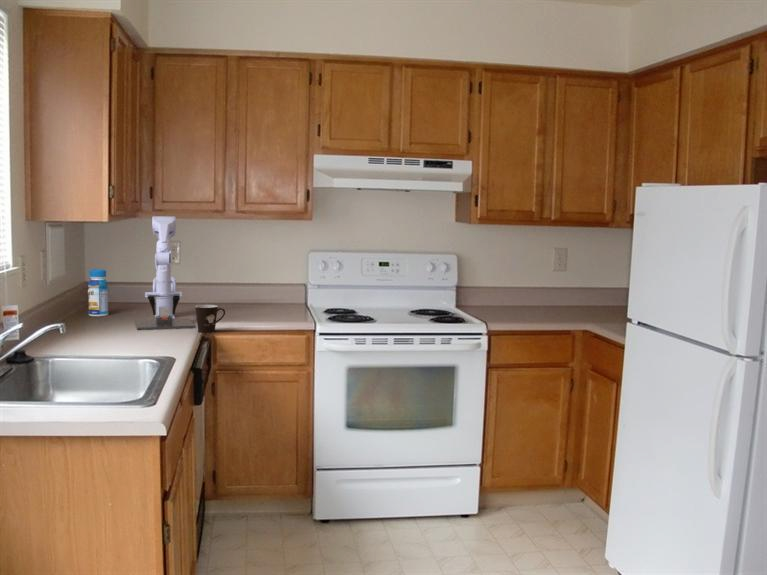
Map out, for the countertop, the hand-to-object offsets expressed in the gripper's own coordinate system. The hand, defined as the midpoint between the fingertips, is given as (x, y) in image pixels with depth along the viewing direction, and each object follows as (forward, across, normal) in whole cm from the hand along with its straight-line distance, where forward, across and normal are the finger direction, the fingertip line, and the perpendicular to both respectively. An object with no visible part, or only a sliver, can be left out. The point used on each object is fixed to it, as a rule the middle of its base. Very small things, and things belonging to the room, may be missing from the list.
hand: (163, 314), depth 306 cm
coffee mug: (+4, +16, -20) cm, 26 cm away
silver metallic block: (+3, 0, 0) cm, 3 cm away
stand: (+4, 0, 0) cm, 4 cm away
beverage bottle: (+4, -25, +33) cm, 42 cm away
